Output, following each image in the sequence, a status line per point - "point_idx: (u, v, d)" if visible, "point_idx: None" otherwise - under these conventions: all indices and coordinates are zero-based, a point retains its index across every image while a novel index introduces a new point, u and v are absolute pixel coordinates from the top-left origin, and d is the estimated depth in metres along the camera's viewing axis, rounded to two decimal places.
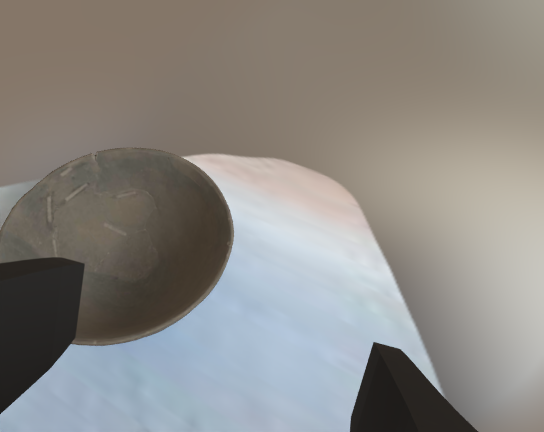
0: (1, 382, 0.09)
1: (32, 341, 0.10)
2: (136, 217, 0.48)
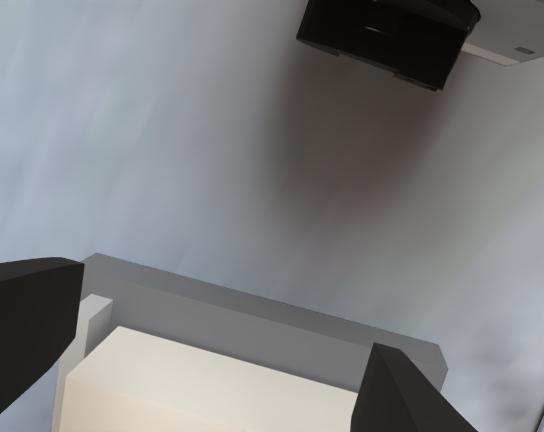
0: (1, 382, 0.09)
1: (32, 341, 0.10)
2: None
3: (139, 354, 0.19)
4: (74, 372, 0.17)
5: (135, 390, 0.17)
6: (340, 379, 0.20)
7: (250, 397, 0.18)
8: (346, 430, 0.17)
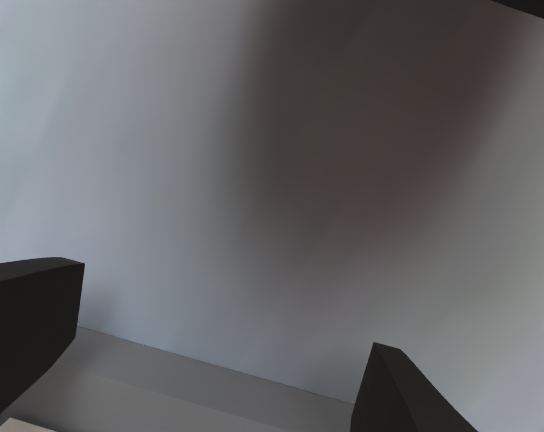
0: (1, 382, 0.09)
1: (32, 341, 0.10)
2: None
3: None
4: None
5: None
6: None
7: None
8: None
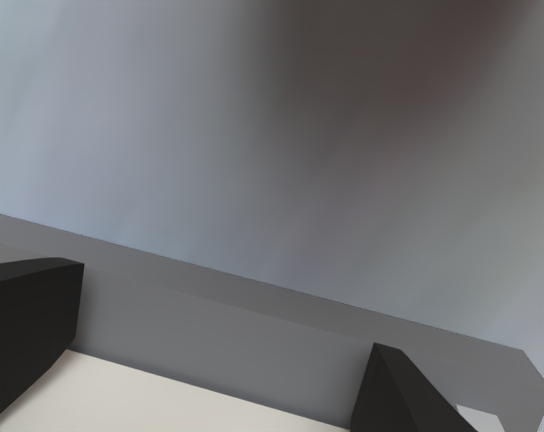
0: (1, 382, 0.09)
1: (32, 341, 0.10)
2: None
3: (37, 383, 0.11)
4: None
5: None
6: None
7: None
8: None
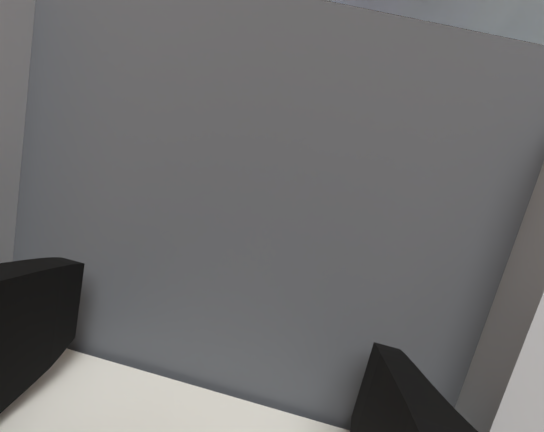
0: (1, 382, 0.09)
1: (32, 341, 0.10)
2: None
3: (37, 382, 0.11)
4: None
5: None
6: (463, 115, 0.10)
7: None
8: None
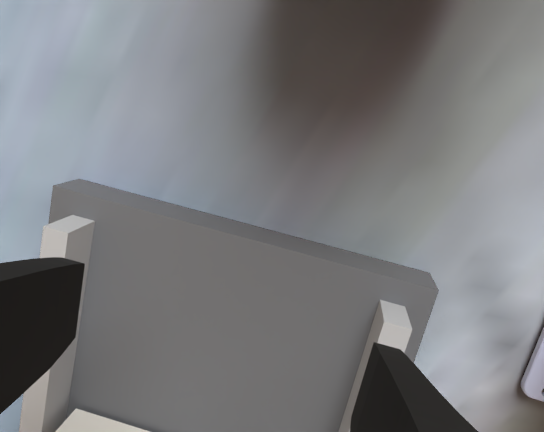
0: (1, 382, 0.09)
1: (32, 341, 0.10)
2: None
3: None
4: None
5: None
6: (328, 302, 0.19)
7: None
8: None
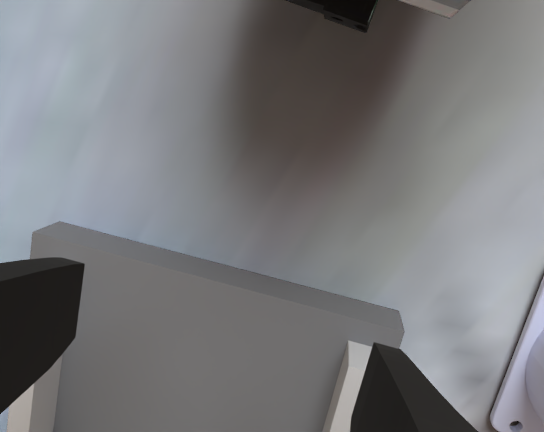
0: (1, 382, 0.09)
1: (32, 341, 0.10)
2: None
3: None
4: None
5: None
6: (298, 343, 0.20)
7: None
8: None
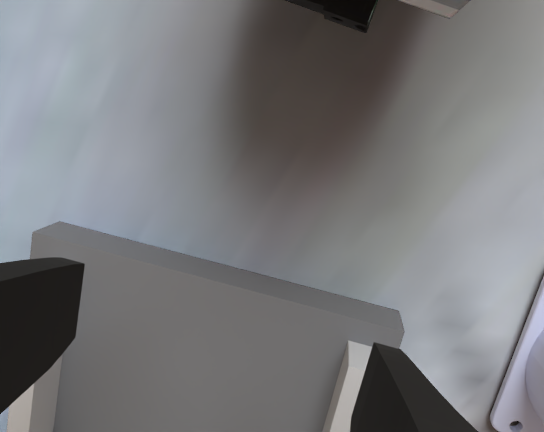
0: (1, 382, 0.09)
1: (32, 341, 0.10)
2: None
3: None
4: None
5: None
6: (298, 343, 0.20)
7: None
8: None
